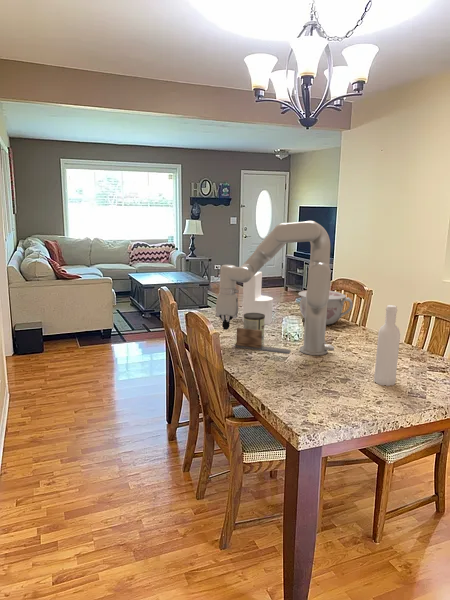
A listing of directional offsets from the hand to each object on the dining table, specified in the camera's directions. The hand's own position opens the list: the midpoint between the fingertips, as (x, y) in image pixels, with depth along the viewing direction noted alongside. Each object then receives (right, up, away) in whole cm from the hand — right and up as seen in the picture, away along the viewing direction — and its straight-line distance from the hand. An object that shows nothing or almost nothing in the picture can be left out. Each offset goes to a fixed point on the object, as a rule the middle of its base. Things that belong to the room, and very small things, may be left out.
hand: (225, 328), depth 214 cm
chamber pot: (+55, 0, +49) cm, 74 cm away
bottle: (+61, -18, -41) cm, 76 cm away
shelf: (+11, -9, -2) cm, 14 cm away
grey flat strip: (+17, -9, -4) cm, 20 cm away
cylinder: (+18, +1, +48) cm, 52 cm away
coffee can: (+13, -7, +6) cm, 16 cm away
